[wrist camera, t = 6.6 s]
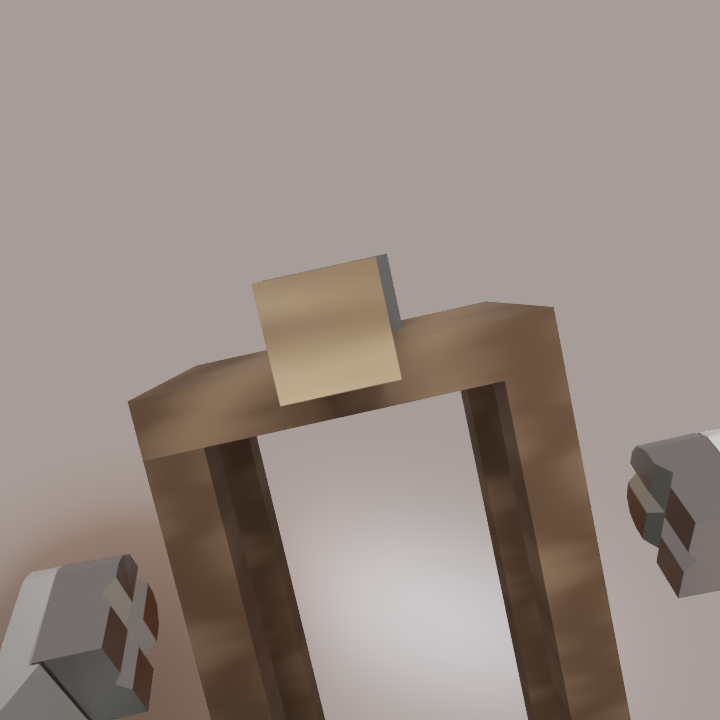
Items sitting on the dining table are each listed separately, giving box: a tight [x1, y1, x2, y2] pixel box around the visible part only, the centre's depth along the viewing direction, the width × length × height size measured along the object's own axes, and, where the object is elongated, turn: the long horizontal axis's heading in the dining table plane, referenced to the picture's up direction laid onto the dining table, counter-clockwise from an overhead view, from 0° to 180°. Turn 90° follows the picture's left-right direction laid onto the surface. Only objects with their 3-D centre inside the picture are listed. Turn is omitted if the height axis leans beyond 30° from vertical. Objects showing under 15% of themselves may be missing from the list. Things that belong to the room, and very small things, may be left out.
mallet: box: [252, 254, 402, 406], centre depth 22 cm, size 17×5×3 cm, turn 2°
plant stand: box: [128, 302, 630, 720], centre depth 28 cm, size 14×10×26 cm
